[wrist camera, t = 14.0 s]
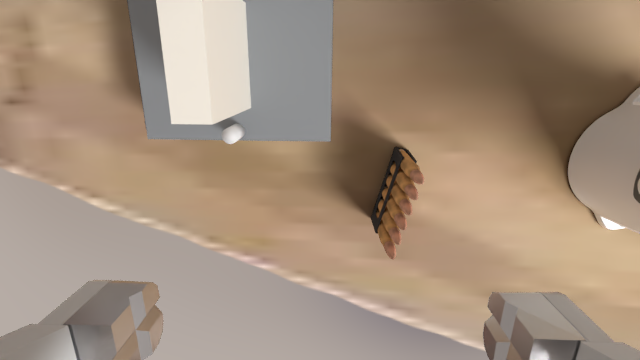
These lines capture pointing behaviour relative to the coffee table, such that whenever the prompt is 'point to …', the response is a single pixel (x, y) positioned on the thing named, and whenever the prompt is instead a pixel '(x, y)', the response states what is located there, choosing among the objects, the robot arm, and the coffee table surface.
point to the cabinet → (252, 74)
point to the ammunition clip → (396, 199)
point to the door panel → (205, 59)
